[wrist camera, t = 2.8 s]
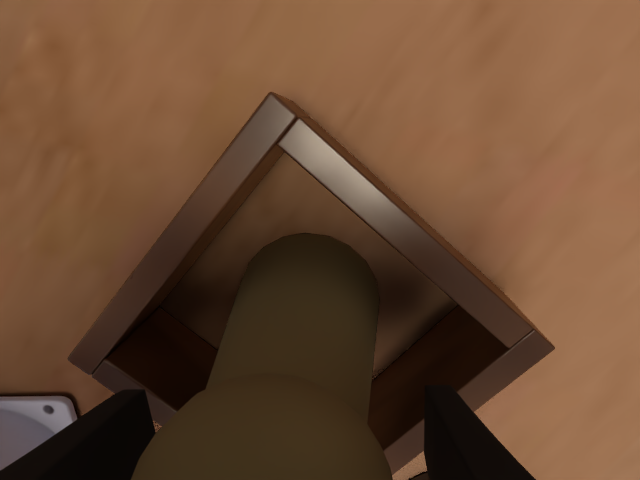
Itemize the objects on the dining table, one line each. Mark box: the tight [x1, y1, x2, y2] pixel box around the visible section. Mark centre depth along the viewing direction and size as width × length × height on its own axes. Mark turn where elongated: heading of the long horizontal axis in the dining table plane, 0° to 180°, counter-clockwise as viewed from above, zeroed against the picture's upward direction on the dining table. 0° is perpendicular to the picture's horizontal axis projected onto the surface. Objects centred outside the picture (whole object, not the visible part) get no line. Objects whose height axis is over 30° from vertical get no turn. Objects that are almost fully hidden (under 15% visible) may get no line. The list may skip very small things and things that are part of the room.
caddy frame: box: [68, 92, 555, 475], centre depth 14 cm, size 12×12×4 cm
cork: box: [131, 233, 393, 480], centre depth 11 cm, size 6×6×11 cm
